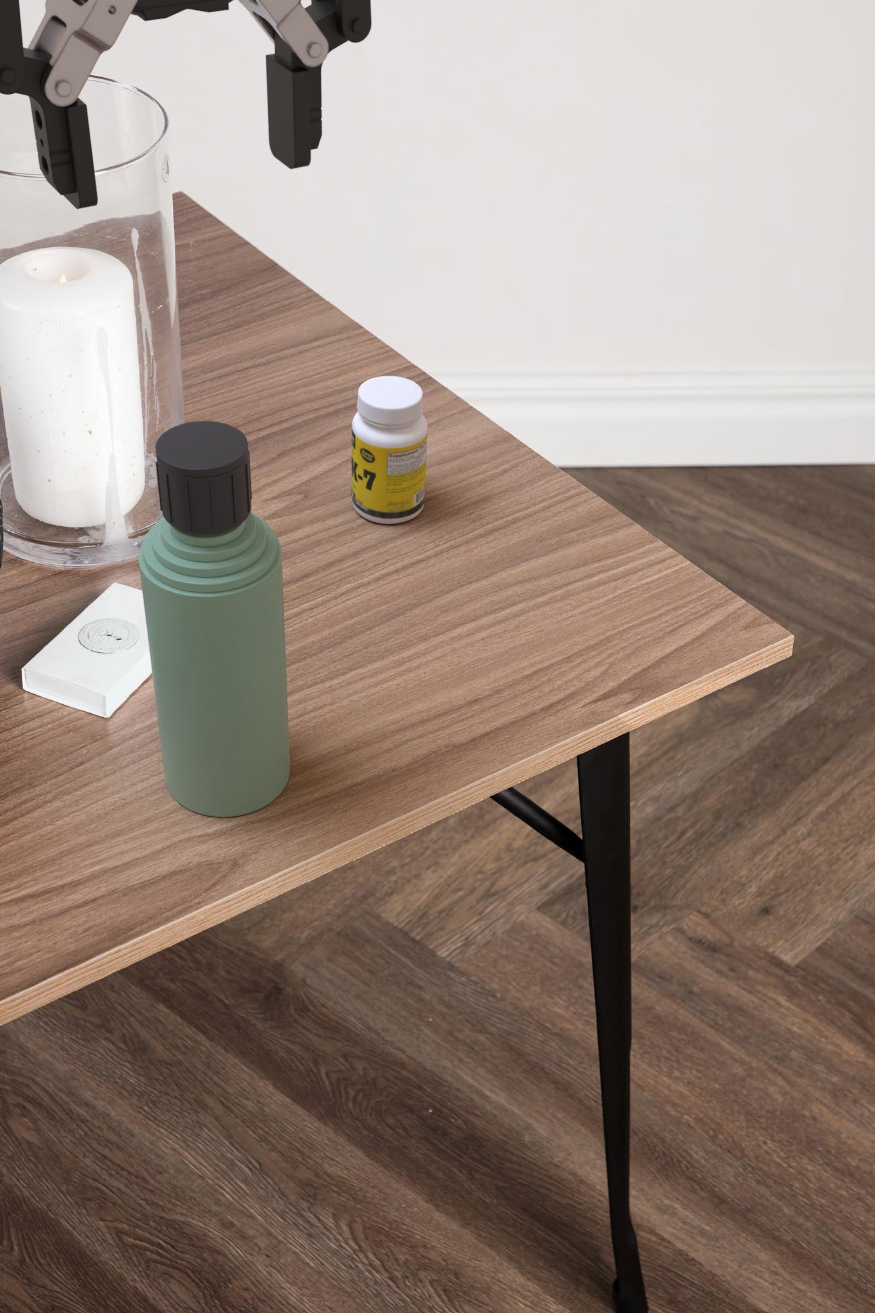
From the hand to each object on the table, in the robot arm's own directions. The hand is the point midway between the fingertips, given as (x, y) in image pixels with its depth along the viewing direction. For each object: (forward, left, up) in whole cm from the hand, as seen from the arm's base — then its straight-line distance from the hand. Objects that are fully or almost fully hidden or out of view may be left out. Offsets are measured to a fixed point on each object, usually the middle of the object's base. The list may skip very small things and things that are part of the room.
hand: (188, 180), depth 53 cm
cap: (0, 0, -15) cm, 15 cm away
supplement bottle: (+19, +17, -31) cm, 40 cm away
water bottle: (0, 0, -31) cm, 31 cm away
